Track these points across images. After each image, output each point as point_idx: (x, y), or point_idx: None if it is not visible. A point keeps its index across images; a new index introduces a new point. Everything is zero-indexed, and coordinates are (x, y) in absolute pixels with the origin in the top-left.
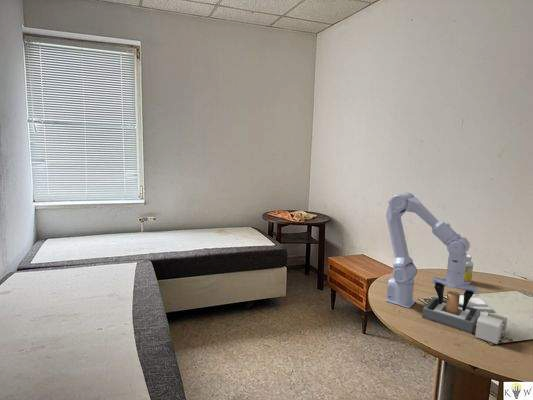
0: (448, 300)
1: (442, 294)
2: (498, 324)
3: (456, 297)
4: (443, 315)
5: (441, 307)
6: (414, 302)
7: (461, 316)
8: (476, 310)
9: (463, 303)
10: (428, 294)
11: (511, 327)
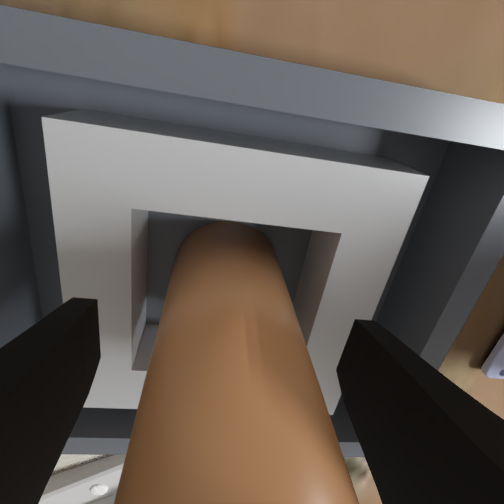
0: (298, 365)
1: (401, 474)
2: None
3: (156, 469)
4: (315, 67)
5: (330, 311)
6: (501, 348)
7: (102, 208)
8: None
9: (24, 373)
10: (377, 491)
11: None
